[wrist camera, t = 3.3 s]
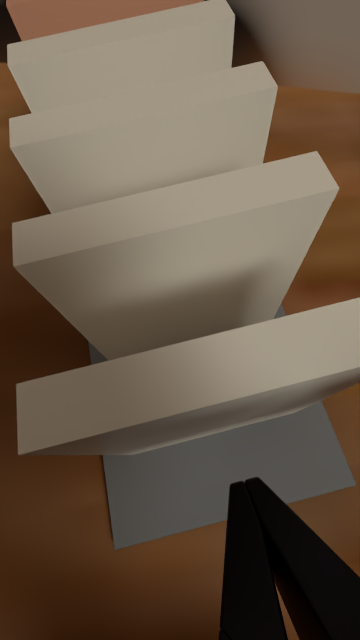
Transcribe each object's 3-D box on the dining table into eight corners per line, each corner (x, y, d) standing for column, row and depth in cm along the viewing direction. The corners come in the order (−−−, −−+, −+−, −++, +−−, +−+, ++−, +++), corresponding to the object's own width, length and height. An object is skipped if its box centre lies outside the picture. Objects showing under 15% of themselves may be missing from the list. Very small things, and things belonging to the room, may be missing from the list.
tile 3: (241, 269, 22) (277, 86, 11) (107, 302, 22) (9, 148, 11) (234, 251, 23) (262, 61, 12) (104, 283, 22) (9, 118, 11)
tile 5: (203, 170, 26) (203, -37, 15) (90, 197, 26) (6, 5, 15) (198, 157, 27) (195, -51, 16) (88, 183, 26) (5, -11, 15)
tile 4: (220, 216, 24) (234, 15, 13) (98, 245, 24) (7, 65, 13) (215, 200, 25) (223, -3, 14) (95, 229, 24) (7, 44, 13)
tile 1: (294, 412, 18) (435, 347, 7) (132, 454, 18) (17, 455, 7) (284, 385, 19) (399, 287, 8) (128, 426, 18) (15, 383, 7)
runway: (351, 483, 17) (356, 485, 16) (117, 546, 17) (114, 550, 16) (199, 114, 30) (199, 107, 29) (65, 145, 29) (62, 139, 29)
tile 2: (265, 334, 20) (339, 188, 9) (119, 371, 20) (13, 266, 9) (257, 312, 21) (317, 150, 10) (115, 347, 20) (11, 223, 9)
